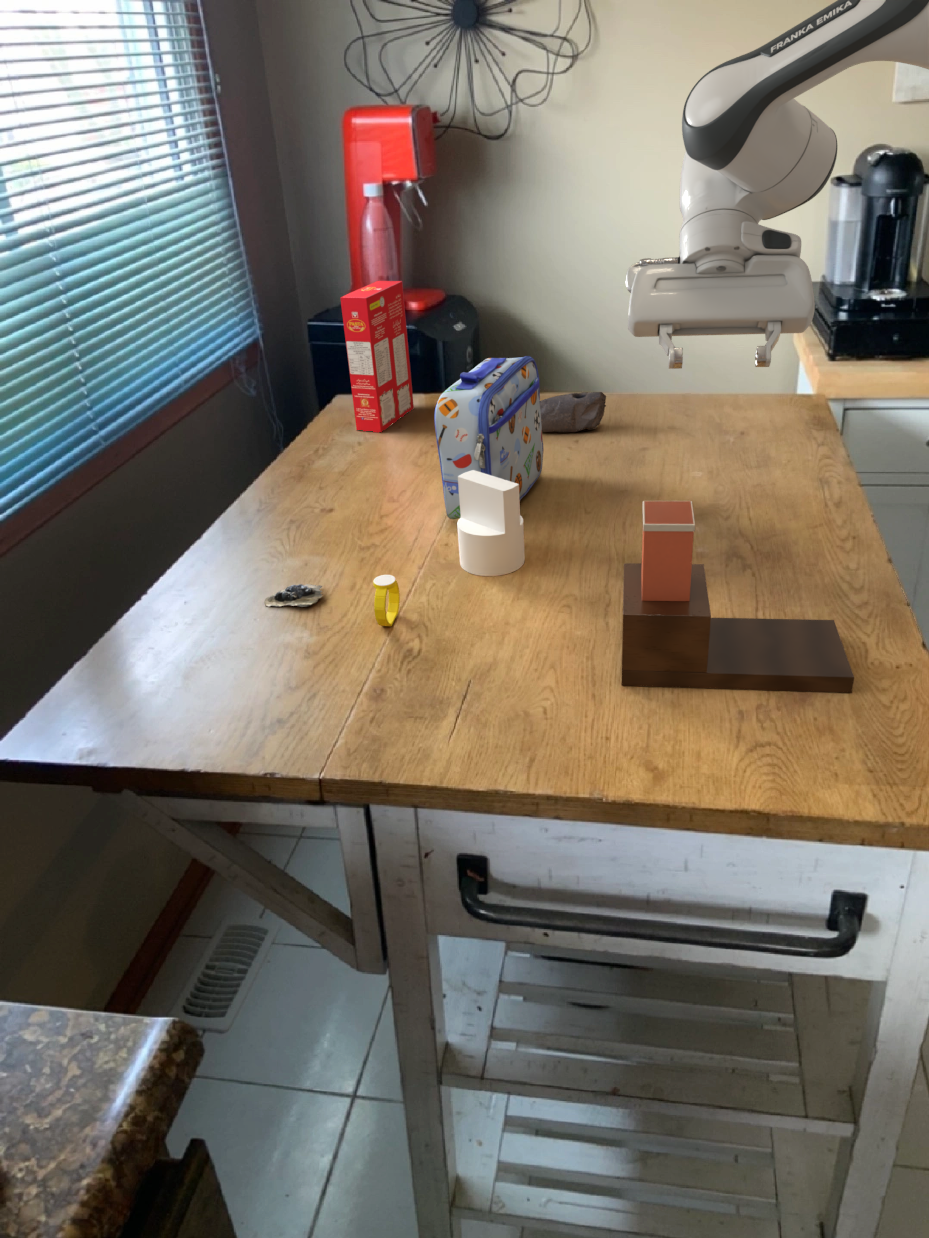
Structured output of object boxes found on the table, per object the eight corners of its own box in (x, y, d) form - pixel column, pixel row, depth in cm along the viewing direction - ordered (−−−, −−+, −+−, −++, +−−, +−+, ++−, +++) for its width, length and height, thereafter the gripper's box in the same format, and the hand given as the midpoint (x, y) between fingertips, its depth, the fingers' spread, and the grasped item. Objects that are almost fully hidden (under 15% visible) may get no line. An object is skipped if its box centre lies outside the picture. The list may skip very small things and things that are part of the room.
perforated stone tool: (525, 437, 178) (524, 400, 174) (525, 428, 182) (524, 392, 179) (607, 434, 177) (608, 396, 173) (605, 424, 181) (605, 388, 178)
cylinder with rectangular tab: (538, 558, 134) (535, 477, 128) (493, 582, 129) (488, 499, 123) (491, 541, 140) (487, 463, 134) (446, 563, 135) (440, 483, 129)
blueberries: (324, 608, 126) (322, 595, 125) (262, 615, 125) (259, 602, 124) (323, 584, 132) (321, 572, 131) (264, 591, 131) (262, 579, 130)
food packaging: (390, 407, 199) (377, 280, 187) (413, 409, 197) (402, 281, 185) (356, 430, 187) (340, 297, 175) (380, 432, 185) (366, 298, 173)
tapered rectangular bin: (687, 575, 108) (692, 500, 104) (690, 602, 103) (695, 524, 99) (640, 574, 109) (642, 500, 105) (640, 601, 104) (643, 524, 99)
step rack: (831, 634, 112) (841, 565, 108) (851, 692, 102) (863, 619, 98) (622, 630, 116) (623, 563, 112) (621, 685, 106) (622, 614, 102)
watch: (386, 608, 125) (381, 567, 122) (406, 610, 124) (402, 568, 121) (371, 632, 120) (366, 589, 117) (393, 633, 119) (388, 591, 116)
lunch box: (501, 540, 140) (493, 391, 129) (434, 534, 143) (421, 388, 132) (550, 472, 162) (548, 339, 151) (491, 468, 166) (485, 338, 155)
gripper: (626, 243, 109) (624, 352, 106) (815, 235, 106) (819, 348, 103) (626, 276, 115) (623, 381, 112) (805, 270, 112) (808, 378, 109)
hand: (719, 365), depth 107 cm, fingers open, 8 cm apart
